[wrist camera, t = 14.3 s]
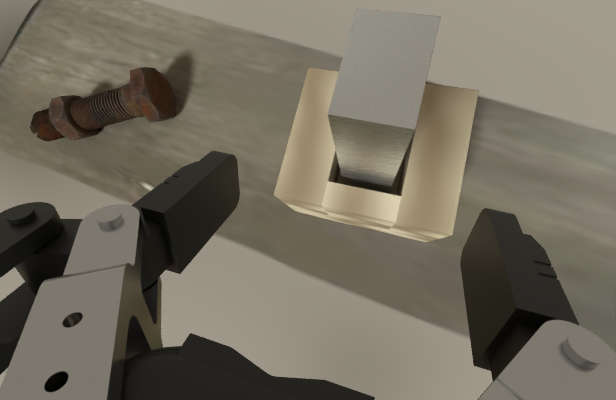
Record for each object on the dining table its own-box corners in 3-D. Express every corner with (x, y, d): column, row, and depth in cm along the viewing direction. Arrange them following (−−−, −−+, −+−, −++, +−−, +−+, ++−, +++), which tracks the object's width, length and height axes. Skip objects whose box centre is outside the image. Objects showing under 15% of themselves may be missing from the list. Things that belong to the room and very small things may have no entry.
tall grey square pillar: (399, 142, 26) (440, 16, 13) (386, 199, 26) (415, 129, 12) (358, 134, 27) (356, 8, 13) (344, 189, 26) (327, 114, 13)
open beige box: (446, 136, 29) (478, 90, 21) (426, 242, 27) (452, 234, 19) (321, 115, 31) (308, 67, 23) (296, 211, 30) (273, 194, 22)
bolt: (72, 134, 38) (182, 104, 36) (51, 161, 35) (171, 130, 32) (29, 92, 34) (151, 55, 32) (1, 118, 31) (135, 79, 28)
